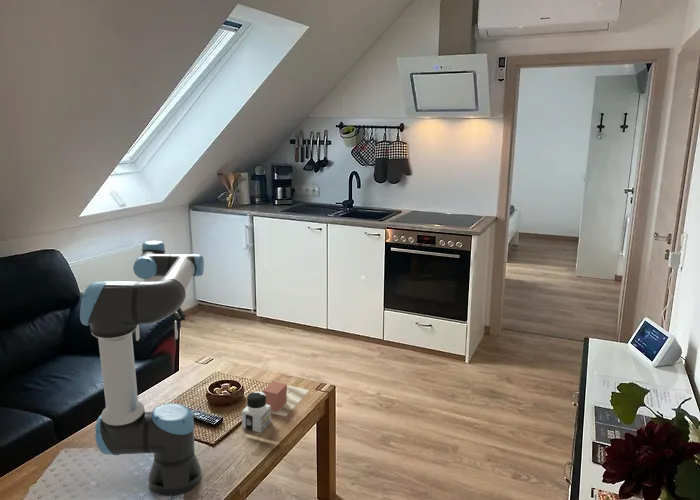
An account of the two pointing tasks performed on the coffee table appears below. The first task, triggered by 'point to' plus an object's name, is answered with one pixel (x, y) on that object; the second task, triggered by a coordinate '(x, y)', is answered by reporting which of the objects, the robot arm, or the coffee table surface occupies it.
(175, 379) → the coffee table surface
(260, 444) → the coffee table surface
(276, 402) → the block
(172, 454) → the robot arm
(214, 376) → the coffee table surface
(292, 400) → the board
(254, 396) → the container
